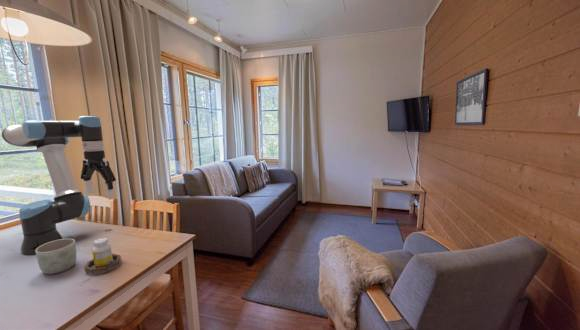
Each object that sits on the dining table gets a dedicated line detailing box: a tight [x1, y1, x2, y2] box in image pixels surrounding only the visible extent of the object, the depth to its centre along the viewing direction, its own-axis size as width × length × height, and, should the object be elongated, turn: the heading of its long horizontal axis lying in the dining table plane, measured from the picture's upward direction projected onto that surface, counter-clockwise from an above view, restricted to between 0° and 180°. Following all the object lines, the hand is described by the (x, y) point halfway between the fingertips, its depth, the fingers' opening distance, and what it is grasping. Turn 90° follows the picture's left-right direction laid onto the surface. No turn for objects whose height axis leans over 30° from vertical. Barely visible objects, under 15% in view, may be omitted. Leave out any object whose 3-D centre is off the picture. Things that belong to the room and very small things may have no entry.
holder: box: [84, 253, 122, 276], centre depth 107 cm, size 12×12×3 cm
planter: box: [35, 238, 77, 275], centre depth 106 cm, size 12×12×11 cm
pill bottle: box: [91, 237, 113, 268], centre depth 106 cm, size 6×6×12 cm
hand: (100, 195), depth 116 cm, fingers open, 13 cm apart
